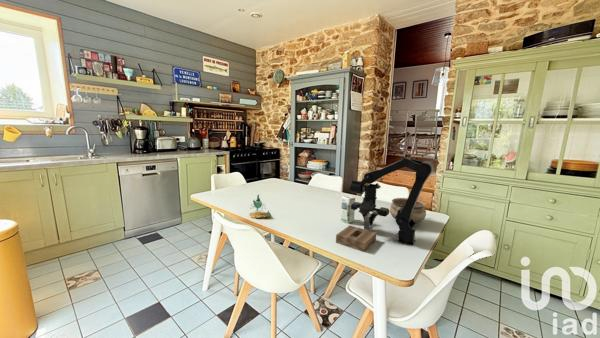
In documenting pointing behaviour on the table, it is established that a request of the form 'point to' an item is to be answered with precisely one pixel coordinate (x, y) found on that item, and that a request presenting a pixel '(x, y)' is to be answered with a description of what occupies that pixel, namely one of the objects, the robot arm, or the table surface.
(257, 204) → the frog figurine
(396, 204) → the cooking pot
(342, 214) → the syrup box
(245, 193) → the table surface
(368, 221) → the upright grey stone slab
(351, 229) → the post block
